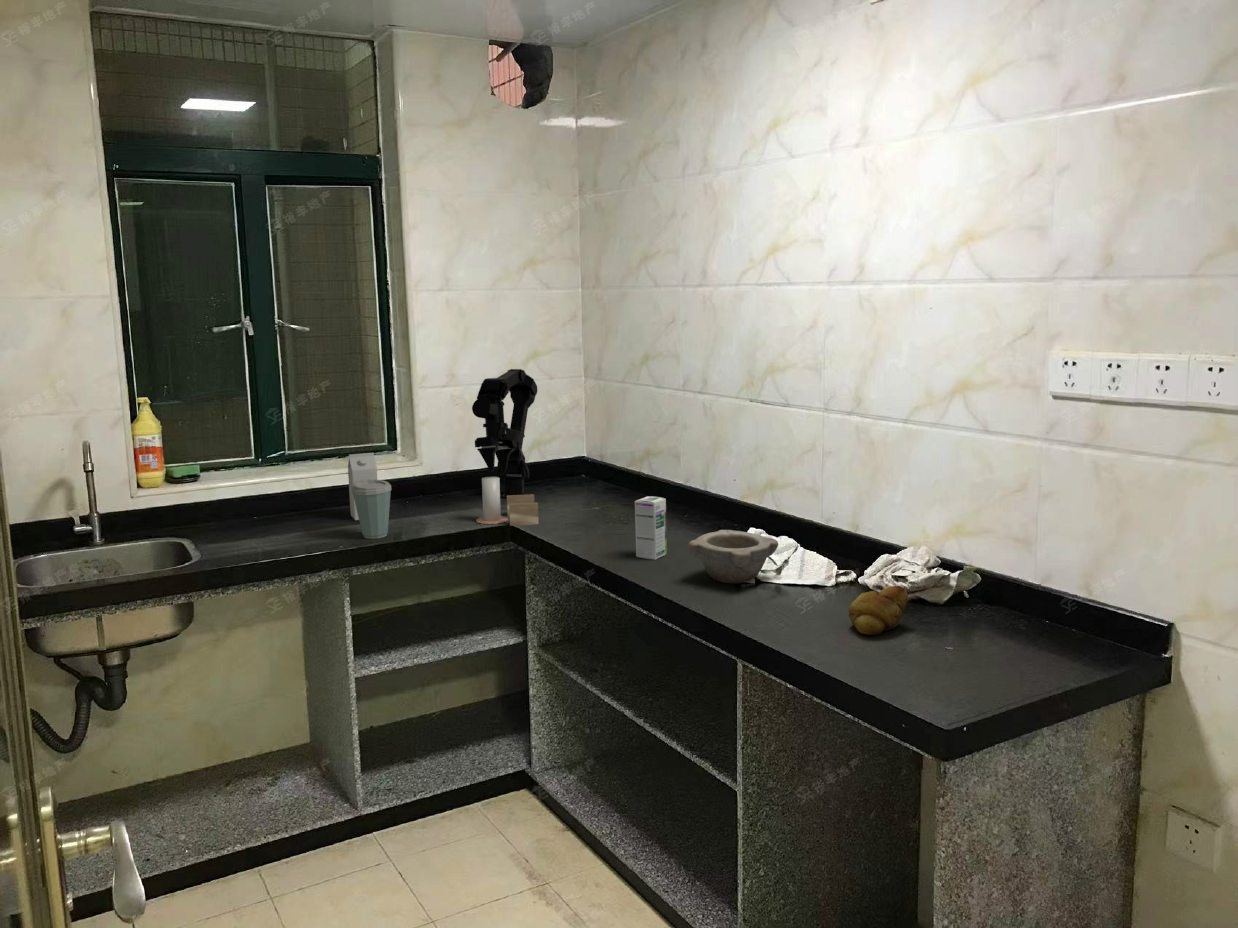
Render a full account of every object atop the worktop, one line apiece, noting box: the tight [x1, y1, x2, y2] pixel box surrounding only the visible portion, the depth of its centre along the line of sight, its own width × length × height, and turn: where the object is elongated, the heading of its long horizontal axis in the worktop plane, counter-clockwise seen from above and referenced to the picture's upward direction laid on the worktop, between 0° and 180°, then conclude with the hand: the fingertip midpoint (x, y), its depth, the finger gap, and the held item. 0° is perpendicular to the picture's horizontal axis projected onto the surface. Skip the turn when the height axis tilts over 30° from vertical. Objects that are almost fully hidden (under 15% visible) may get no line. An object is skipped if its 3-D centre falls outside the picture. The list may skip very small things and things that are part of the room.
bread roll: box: [848, 585, 909, 636], centre depth 188 cm, size 13×10×8 cm
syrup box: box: [634, 495, 668, 561], centre depth 241 cm, size 6×6×14 cm
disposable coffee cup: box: [352, 478, 392, 540], centre depth 264 cm, size 11×11×15 cm
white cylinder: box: [481, 476, 502, 521], centre depth 280 cm, size 5×5×12 cm
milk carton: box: [347, 452, 378, 521], centre depth 287 cm, size 7×7×19 cm
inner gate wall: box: [506, 493, 536, 517], centre depth 288 cm, size 2×8×6 cm, turn 100°
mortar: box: [687, 529, 779, 584], centre depth 222 cm, size 17×17×9 cm
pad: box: [475, 515, 509, 526], centre depth 281 cm, size 9×9×1 cm
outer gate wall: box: [509, 501, 539, 526], centre depth 277 cm, size 2×8×6 cm, turn 100°
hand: (498, 471), depth 294 cm, fingers open, 9 cm apart
